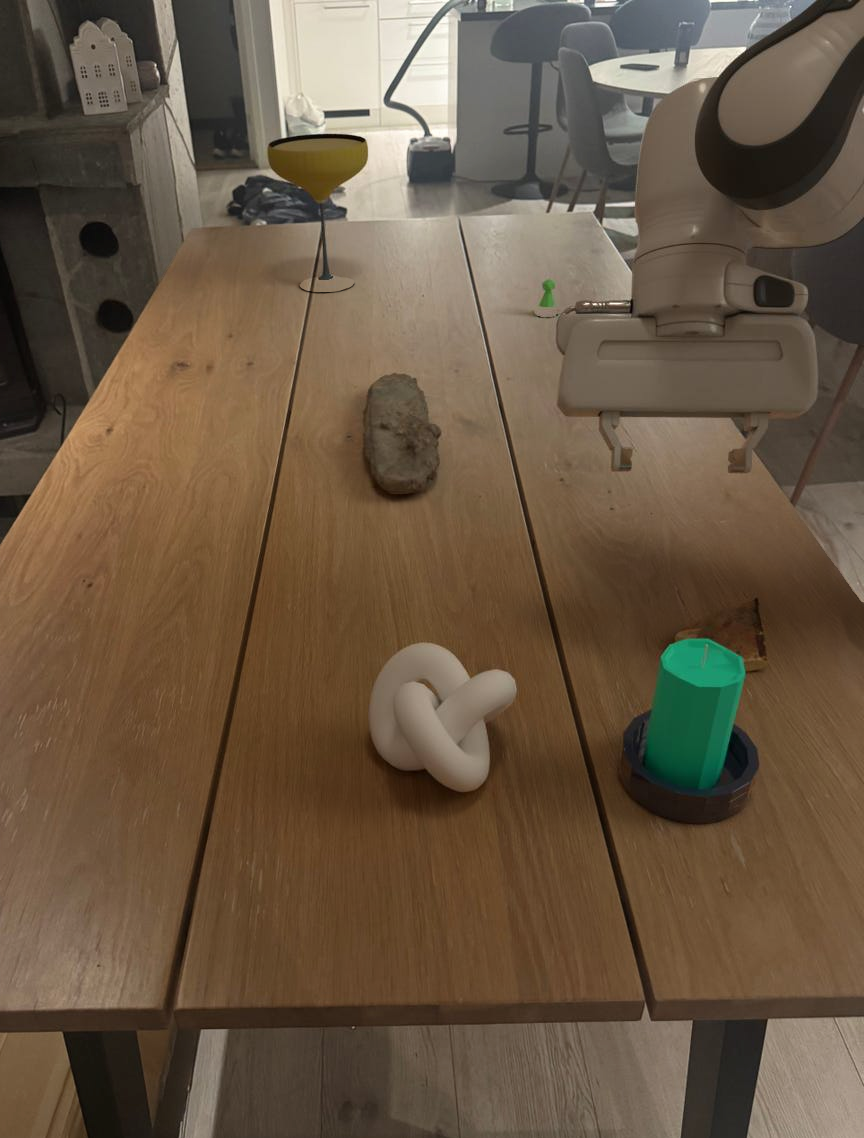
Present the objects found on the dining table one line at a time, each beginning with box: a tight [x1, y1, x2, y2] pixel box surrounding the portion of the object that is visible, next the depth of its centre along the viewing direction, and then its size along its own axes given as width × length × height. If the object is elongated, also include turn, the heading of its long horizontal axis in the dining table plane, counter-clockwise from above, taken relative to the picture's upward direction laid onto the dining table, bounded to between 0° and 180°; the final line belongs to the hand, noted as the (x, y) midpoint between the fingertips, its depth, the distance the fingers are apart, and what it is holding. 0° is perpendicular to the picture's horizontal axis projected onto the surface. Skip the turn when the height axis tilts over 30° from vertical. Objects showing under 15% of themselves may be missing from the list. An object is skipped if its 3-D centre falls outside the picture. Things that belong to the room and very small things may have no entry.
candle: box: [643, 639, 747, 790], centre depth 72 cm, size 6×6×12 cm
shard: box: [674, 597, 769, 673], centre depth 89 cm, size 11×8×2 cm
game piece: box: [538, 278, 556, 307], centre depth 166 cm, size 4×4×6 cm
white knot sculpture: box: [368, 642, 518, 793], centre depth 77 cm, size 11×12×9 cm
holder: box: [618, 708, 760, 825], centre depth 76 cm, size 10×10×3 cm
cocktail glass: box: [267, 133, 369, 280], centre depth 179 cm, size 18×18×25 cm
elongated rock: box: [362, 372, 442, 495], centre depth 127 cm, size 35×5×10 cm
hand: (679, 471), depth 78 cm, fingers open, 8 cm apart
